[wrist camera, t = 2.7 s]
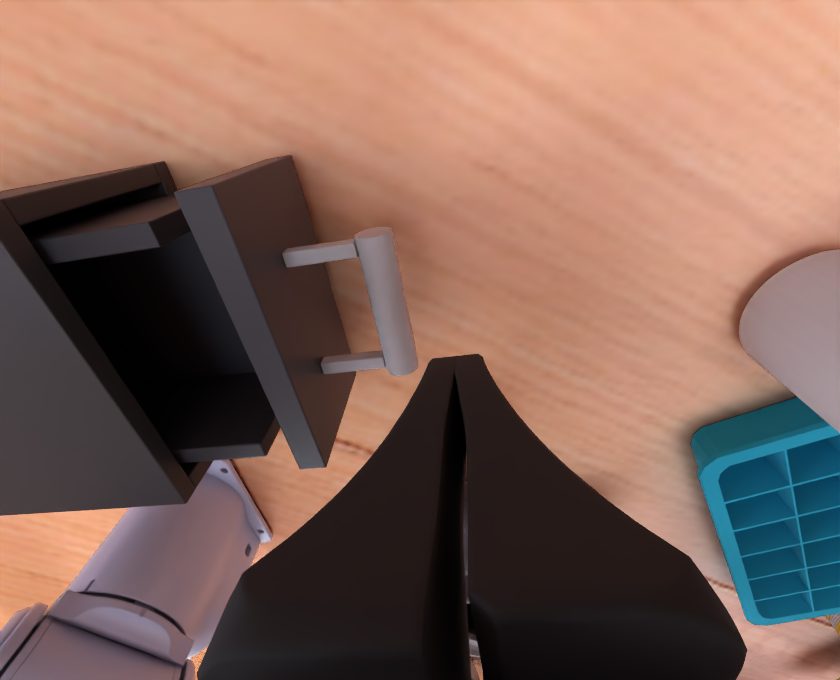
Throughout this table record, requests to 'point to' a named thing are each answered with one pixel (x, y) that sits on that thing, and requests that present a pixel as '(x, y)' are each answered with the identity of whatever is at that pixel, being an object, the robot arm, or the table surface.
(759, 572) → the ice cube tray
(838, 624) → the supplement bottle
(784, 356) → the beverage can
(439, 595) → the robot arm
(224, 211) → the drawer
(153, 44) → the table surface
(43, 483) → the cabinet
